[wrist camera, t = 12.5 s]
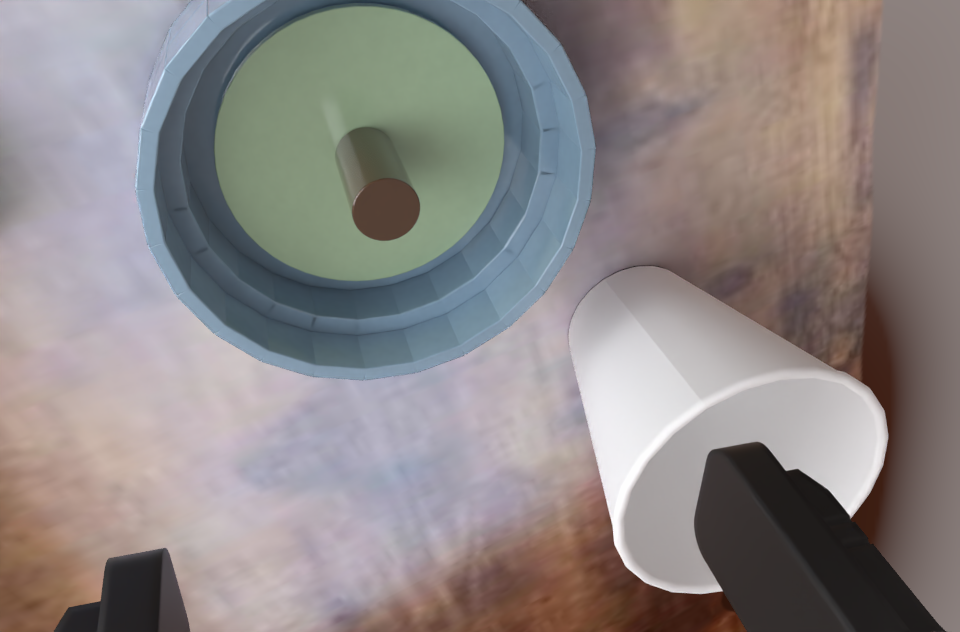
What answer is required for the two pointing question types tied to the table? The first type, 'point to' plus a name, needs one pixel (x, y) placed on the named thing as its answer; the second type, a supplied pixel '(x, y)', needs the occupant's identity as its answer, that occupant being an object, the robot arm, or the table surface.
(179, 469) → the table surface
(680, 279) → the cup
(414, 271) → the bowl
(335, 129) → the lid
